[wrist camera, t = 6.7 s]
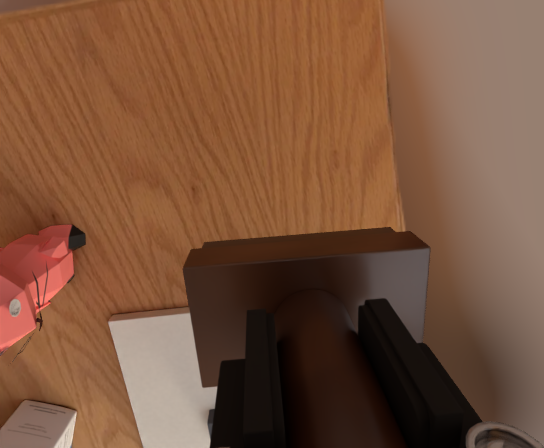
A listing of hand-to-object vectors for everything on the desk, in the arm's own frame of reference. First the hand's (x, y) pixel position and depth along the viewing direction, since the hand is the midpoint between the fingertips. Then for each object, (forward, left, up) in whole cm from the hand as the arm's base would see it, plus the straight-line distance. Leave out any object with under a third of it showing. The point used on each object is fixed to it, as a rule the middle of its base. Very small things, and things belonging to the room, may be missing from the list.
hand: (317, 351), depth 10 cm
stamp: (0, 0, -4) cm, 4 cm away
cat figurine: (+17, +2, -17) cm, 25 cm away
